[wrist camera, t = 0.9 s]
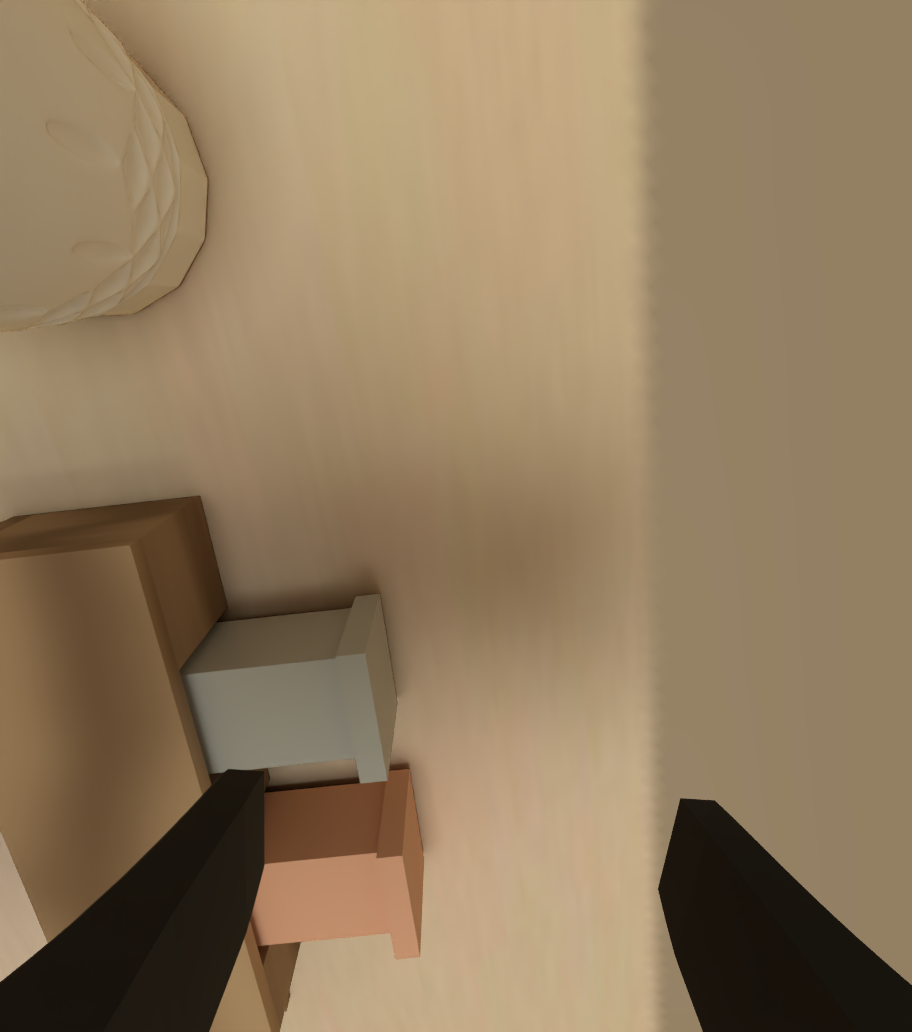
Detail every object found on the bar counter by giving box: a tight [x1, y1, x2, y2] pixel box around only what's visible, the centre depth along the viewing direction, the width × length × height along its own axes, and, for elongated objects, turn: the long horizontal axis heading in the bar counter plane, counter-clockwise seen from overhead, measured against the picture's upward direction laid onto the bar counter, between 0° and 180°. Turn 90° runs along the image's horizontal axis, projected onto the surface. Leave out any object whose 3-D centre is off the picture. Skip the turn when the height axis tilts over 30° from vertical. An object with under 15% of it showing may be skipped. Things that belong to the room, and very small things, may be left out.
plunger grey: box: [179, 594, 397, 784], centre depth 19 cm, size 7×4×4 cm, turn 96°
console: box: [0, 496, 301, 1032], centre depth 21 cm, size 6×22×4 cm, turn 6°
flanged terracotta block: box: [250, 769, 424, 959], centre depth 21 cm, size 7×4×4 cm, turn 96°
